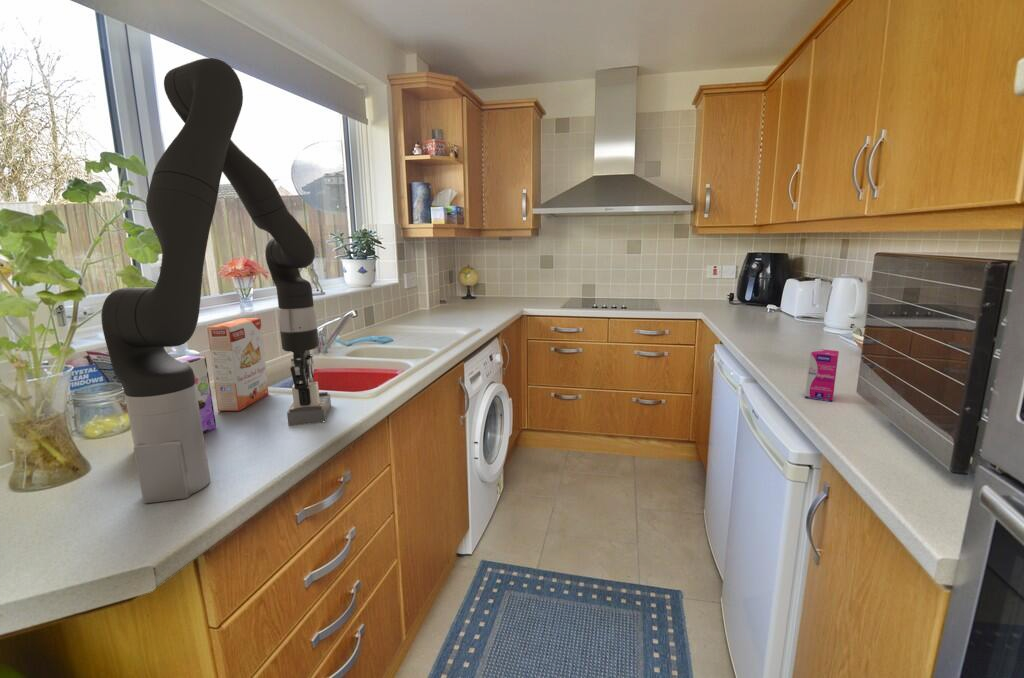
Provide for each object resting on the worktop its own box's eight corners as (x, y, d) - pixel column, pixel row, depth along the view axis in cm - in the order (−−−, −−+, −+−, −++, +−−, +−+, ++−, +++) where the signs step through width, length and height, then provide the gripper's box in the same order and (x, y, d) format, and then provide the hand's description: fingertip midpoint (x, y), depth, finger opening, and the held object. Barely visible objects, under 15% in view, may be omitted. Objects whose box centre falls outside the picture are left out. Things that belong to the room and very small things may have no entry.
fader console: (324, 422, 109) (323, 406, 109) (288, 425, 108) (286, 410, 107) (331, 405, 120) (329, 391, 120) (298, 408, 119) (296, 394, 118)
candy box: (155, 454, 94) (140, 372, 91) (133, 450, 96) (118, 370, 93) (217, 428, 107) (206, 355, 104) (198, 425, 109) (186, 353, 106)
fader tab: (318, 406, 110) (315, 385, 109) (294, 408, 109) (291, 387, 108) (319, 402, 112) (317, 381, 112) (296, 404, 111) (294, 383, 110)
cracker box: (241, 411, 117) (229, 326, 113) (216, 412, 118) (204, 326, 113) (270, 393, 131) (261, 317, 127) (248, 394, 131) (238, 317, 127)
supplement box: (804, 398, 118) (808, 352, 116) (806, 392, 123) (810, 347, 121) (832, 402, 115) (838, 355, 113) (833, 395, 120) (838, 350, 117)
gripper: (311, 332, 101) (320, 411, 105) (321, 321, 114) (328, 391, 118) (272, 334, 99) (282, 414, 103) (286, 323, 113) (295, 394, 116)
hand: (306, 402), depth 110 cm, fingers closed on fader tab, 3 cm apart
